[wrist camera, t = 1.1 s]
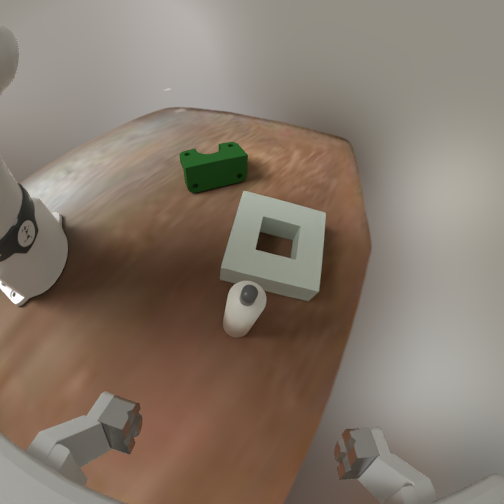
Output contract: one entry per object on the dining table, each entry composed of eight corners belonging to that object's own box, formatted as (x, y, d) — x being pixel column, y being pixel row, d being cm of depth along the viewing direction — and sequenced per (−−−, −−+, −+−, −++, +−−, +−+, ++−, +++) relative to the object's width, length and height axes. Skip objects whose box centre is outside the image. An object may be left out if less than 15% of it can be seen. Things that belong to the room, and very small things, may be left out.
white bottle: (219, 333, 38) (224, 306, 25) (226, 307, 40) (234, 268, 27) (247, 340, 38) (266, 316, 25) (253, 314, 40) (273, 278, 27)
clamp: (226, 181, 56) (243, 143, 51) (236, 197, 53) (255, 157, 47) (171, 174, 49) (185, 131, 44) (177, 191, 46) (193, 144, 41)
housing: (219, 279, 41) (220, 267, 37) (240, 207, 48) (243, 190, 44) (308, 301, 42) (318, 291, 38) (316, 227, 48) (325, 213, 44)
